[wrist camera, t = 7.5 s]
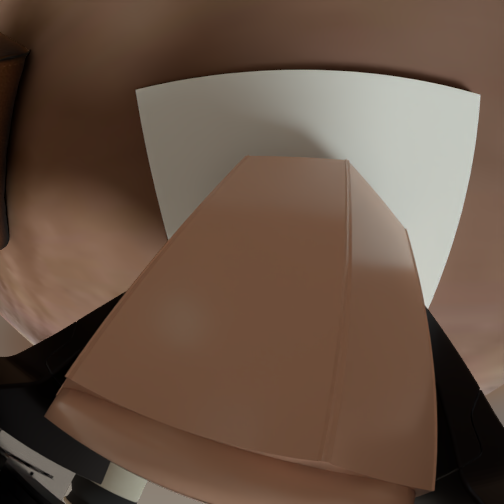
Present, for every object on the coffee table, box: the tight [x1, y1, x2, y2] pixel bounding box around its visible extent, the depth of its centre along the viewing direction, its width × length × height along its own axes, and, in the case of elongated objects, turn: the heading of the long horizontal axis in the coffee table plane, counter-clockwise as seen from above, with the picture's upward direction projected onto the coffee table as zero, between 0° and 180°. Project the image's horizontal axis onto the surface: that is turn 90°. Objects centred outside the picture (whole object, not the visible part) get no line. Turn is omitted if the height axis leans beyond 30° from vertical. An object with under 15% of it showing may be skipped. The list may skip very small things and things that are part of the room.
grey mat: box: [136, 70, 480, 309], centre depth 11 cm, size 12×12×1 cm
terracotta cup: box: [44, 155, 437, 504], centre depth 7 cm, size 7×7×8 cm
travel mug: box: [64, 462, 147, 504], centre depth 25 cm, size 8×8×18 cm
